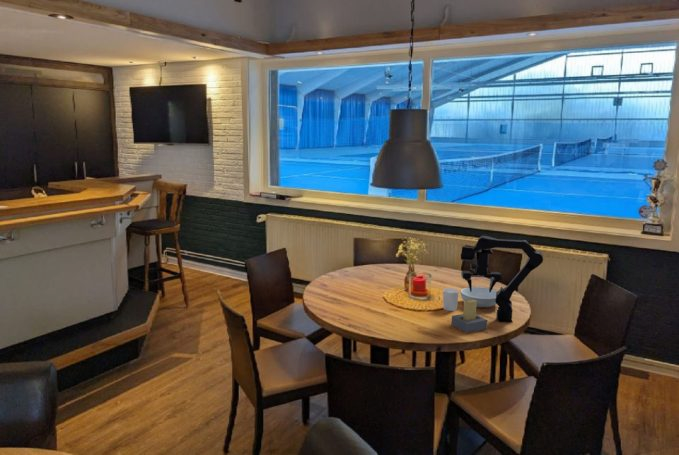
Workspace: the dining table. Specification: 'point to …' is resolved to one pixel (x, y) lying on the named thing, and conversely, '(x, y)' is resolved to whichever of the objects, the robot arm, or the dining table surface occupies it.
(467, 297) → the serving bowl
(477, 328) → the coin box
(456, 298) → the white cup
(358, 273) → the dining table surface
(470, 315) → the pale yellow block
